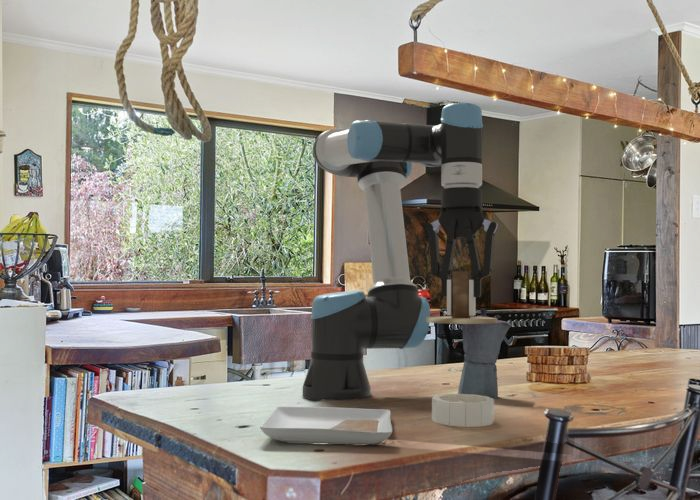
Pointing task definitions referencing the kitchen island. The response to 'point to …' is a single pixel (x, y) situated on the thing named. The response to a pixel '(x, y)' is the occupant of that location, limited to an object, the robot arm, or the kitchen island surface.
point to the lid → (461, 303)
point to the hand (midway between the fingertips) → (461, 314)
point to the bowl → (463, 410)
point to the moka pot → (479, 356)
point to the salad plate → (325, 425)
